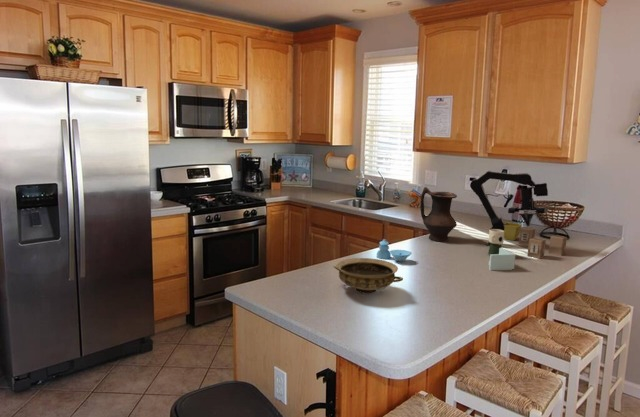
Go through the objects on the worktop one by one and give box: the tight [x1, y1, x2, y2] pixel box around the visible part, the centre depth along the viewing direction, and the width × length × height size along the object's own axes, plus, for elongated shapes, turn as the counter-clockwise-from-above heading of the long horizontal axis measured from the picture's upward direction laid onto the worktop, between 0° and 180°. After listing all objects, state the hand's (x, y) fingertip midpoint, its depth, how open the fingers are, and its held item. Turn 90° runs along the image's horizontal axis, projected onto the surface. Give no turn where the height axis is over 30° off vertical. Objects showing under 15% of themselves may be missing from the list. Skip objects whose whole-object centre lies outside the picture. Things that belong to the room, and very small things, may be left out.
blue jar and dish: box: [376, 238, 412, 263], centre depth 234 cm, size 18×10×9 cm, turn 49°
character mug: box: [487, 228, 505, 255], centre depth 247 cm, size 11×7×13 cm, turn 140°
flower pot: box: [503, 221, 522, 241], centre depth 284 cm, size 9×9×9 cm
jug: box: [419, 186, 458, 243], centre depth 277 cm, size 21×18×30 cm
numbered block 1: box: [518, 226, 536, 247], centre depth 273 cm, size 6×6×9 cm
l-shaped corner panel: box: [487, 247, 516, 271], centre depth 228 cm, size 12×12×8 cm
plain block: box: [548, 234, 568, 257], centre depth 255 cm, size 6×6×9 cm
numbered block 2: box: [527, 237, 547, 260], centre depth 247 cm, size 6×6×9 cm
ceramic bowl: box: [333, 257, 404, 295], centre depth 190 cm, size 30×24×10 cm
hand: (528, 225), depth 261 cm, fingers closed
